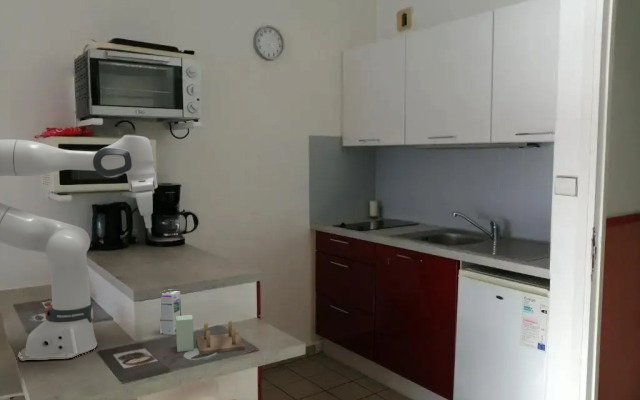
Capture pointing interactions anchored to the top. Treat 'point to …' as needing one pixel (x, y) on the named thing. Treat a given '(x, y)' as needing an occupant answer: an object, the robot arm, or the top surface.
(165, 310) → the syrup box
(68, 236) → the robot arm
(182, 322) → the green block
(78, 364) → the top surface
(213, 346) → the standoff base
